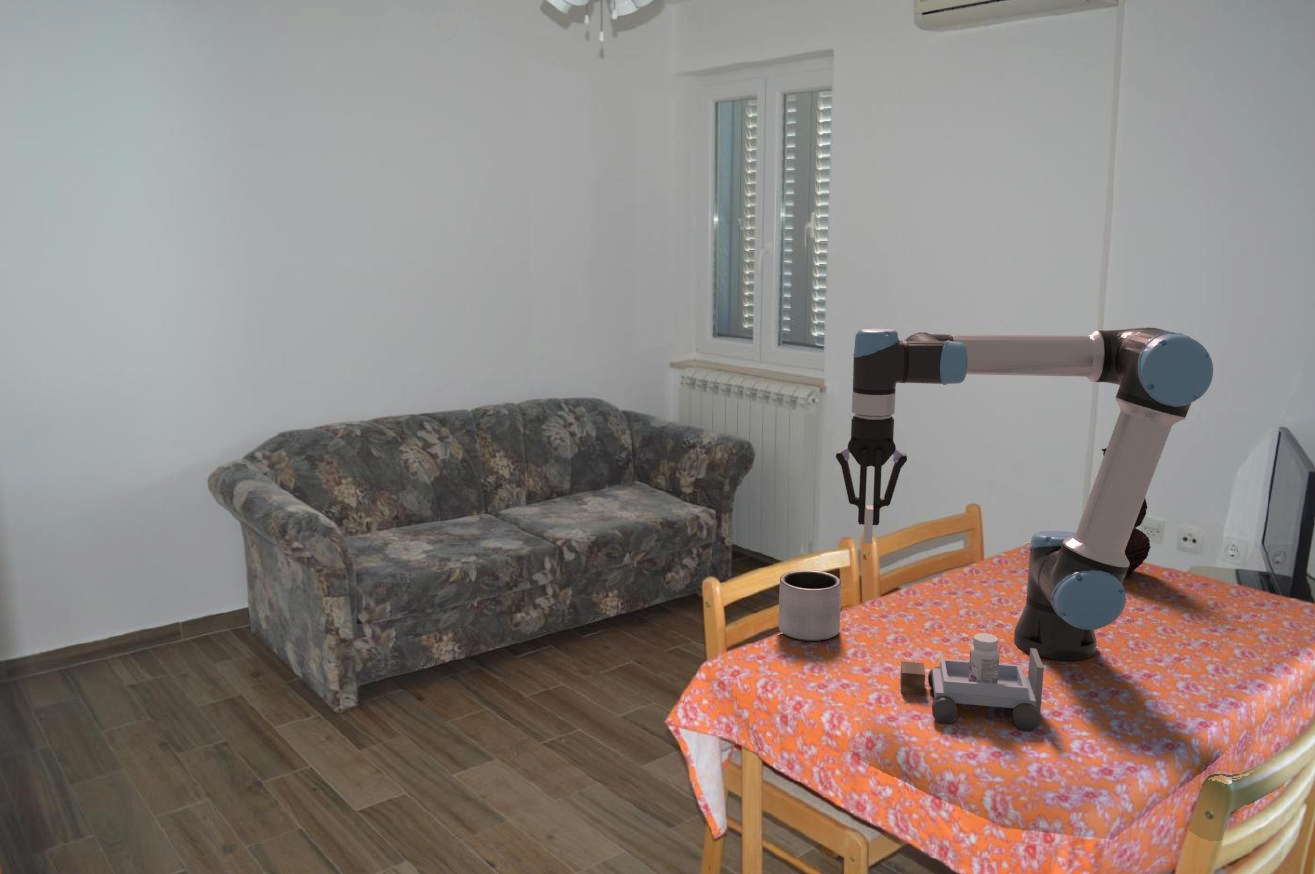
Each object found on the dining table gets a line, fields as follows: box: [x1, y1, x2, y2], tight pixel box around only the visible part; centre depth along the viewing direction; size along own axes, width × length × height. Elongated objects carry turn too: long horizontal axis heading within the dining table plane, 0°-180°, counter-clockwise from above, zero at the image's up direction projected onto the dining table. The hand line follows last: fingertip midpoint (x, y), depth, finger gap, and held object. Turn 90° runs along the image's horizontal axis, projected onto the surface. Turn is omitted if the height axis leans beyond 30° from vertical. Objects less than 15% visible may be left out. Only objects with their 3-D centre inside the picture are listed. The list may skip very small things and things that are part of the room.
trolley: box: [927, 648, 1045, 732], centre depth 174 cm, size 18×14×10 cm
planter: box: [777, 569, 842, 642], centre depth 208 cm, size 13×13×11 cm
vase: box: [1101, 447, 1152, 578], centre depth 241 cm, size 15×15×30 cm
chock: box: [899, 660, 926, 696], centre depth 182 cm, size 4×5×4 cm
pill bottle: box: [968, 632, 1000, 684], centre depth 173 cm, size 5×5×8 cm
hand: (867, 541), depth 187 cm, fingers closed
